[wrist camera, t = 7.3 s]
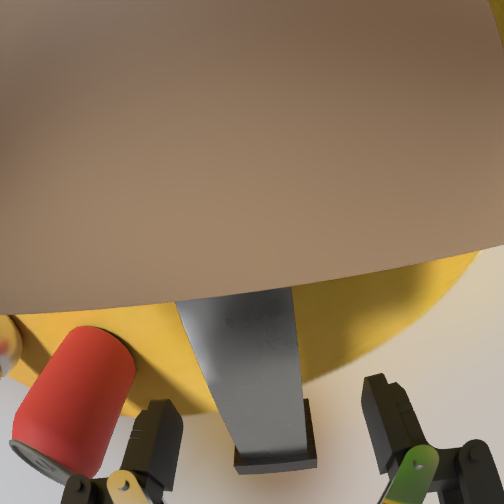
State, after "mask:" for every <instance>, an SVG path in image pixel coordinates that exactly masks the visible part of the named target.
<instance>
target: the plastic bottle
mask: <svg viewBox="0 0 504 504" xmlns="http://www.w3.org/2000/svg"><path fill="white" fill-rule="evenodd" d="M22 347H23V342H22V337H21V335H20V332H19V330H18V328H17V327H16V325H15V324H14V322H13V321H12V320H11V318H10V317H9V316H8V315H0V379H1V378H2V377H4V376H5V375H6V374H8V373H9V372H10V371H11V370H12V369H13V368H14V367H15V366H16V364H17V363H18V360H19V358H20V356H21V354H22Z"/></svg>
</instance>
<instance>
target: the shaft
mask: <svg viewBox="0 0 504 504" xmlns="http://www.w3.org/2000/svg"><path fill="white" fill-rule="evenodd" d="M175 304H176V307H177V310H178V312H179V315H180V318H181V321H182V323H183V326H184V329H185V331H186V334H187V336H188V339H189V342H190V344H191V347H192V349H193V352H194V354H195V357H196V359H197V362H198V364H199V366H200V369H201V371H202V374H203V376H204V378H205V381H206V383H207V385H208V388H209V390H210V392H211V394H212V397H213V399H214V401H215V403H216V406H217V408H218V410H219V412H220V414H221V416H222V418H223V421H224V423H225V425H226V427H227V429H228V431H229V433H230V435H231V437H232V439H233V441H234V443H235V453H234V467H235V469H236V471H237V472H238V474H240V475H241V474H242V475H243V474H264V473H277V472H287V471H296V470H304V469H310V468H317V455H316V447H315V440H314V434H313V426H312V421H311V413H310V407H309V400H308V398H307V399H303V392H302V381H301V371H300V361H299V351H298V342H297V333H296V324H295V315H294V307H293V298H292V290H291V286H289V287H282V288H276V289H269V290H262V291H255V292H248V293H241V294H233V295H226V296H218V297H210V298H202V299H194V300H185V301H176V302H175Z"/></svg>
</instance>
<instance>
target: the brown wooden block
mask: <svg viewBox="0 0 504 504" xmlns="http://www.w3.org/2000/svg"><path fill="white" fill-rule="evenodd" d="M500 245H504V49H503V45H502V41H501V37H500V34H499V30H498V27H497V24H496V21H495V18H494V15H493V12H492V9H491V6H490V4H489V1H488V0H0V315H17V314H37V313H54V312H69V311H82V310H95V309H107V308H118V307H129V306H139V305H149V304H158V303H168V302H176V301H185V300H194V299H202V298H210V297H218V296H226V295H233V294H241V293H248V292H255V291H262V290H269V289H276V288H282V287H289V286H296V285H302V284H308V283H314V282H321V281H327V280H333V279H338V278H344V277H350V276H356V275H361V274H367V273H372V272H378V271H383V270H388V269H394V268H399V267H404V266H409V265H414V264H419V263H424V262H429V261H433V260H438V259H443V258H447V257H452V256H457V255H461V254H466V253H470V252H474V251H479V250H483V249H487V248H491V247H496V246H500Z"/></svg>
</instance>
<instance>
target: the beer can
mask: <svg viewBox="0 0 504 504" xmlns="http://www.w3.org/2000/svg"><path fill="white" fill-rule="evenodd" d="M135 372H136V367H135V363H134V359H133V357H132V355H131V354H130V352H129V351H128V349H127V348H126V347H125V346H124V345H123V344H122V343H121V341H120V340H118V339H117V338H116V337H114V336H113V335H111V334H110V333H108V332H106V331H104V330H102V329H99V328H96V327H91V326H81V327H76V328H75V329H73V330H72V331H70V332H69V334H68V335H67V336H66V338H65V339H64V340H63V342H62V343H61V345H60V346H59V347H58V349H57V350H56V352H55V353H54V354H53V356H52V357H51V359H50V360H49V362H48V363H47V365H46V366H45V368H44V369H43V371H42V372H41V374H40V375H39V377H38V378H37V380H36V381H35V383H34V384H33V386H32V387H31V389H30V391H29V392H28V394H27V395H26V397H25V399H24V400H23V402H22V403H21V405H20V407H19V408H18V410H17V412H16V414H15V418H14V421H13V430H12V440H10V441H9V445H10V447H11V448H12V450H13V451H14V452H15V453H16V454H17V455H18V456H19V457H20V458H21V459H22V460H24V461H25V462H26V463H27V464H29V465H30V466H31V467H33V468H34V469H36V470H37V471H39V472H40V473H42V474H43V475H45V476H47V477H48V478H50V479H52V480H54V481H56V482H58V483H60V484H62V485H64V486H65V485H66V482H67V480H68V478H69V477H70V476H72V475H74V474H83V475H85V476H86V477H88V478H89V479H92V478H93V477H94V476H95V475H96V473H97V472H98V470H99V469H100V467H101V465H102V461H103V459H104V456H105V453H106V450H107V447H108V445H109V442H110V439H111V436H112V434H113V431H114V428H115V425H116V423H117V420H118V418H119V415H120V412H121V410H122V407H123V405H124V402H125V399H126V397H127V394H128V392H129V389H130V387H131V384H132V382H133V379H134V377H135Z"/></svg>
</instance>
